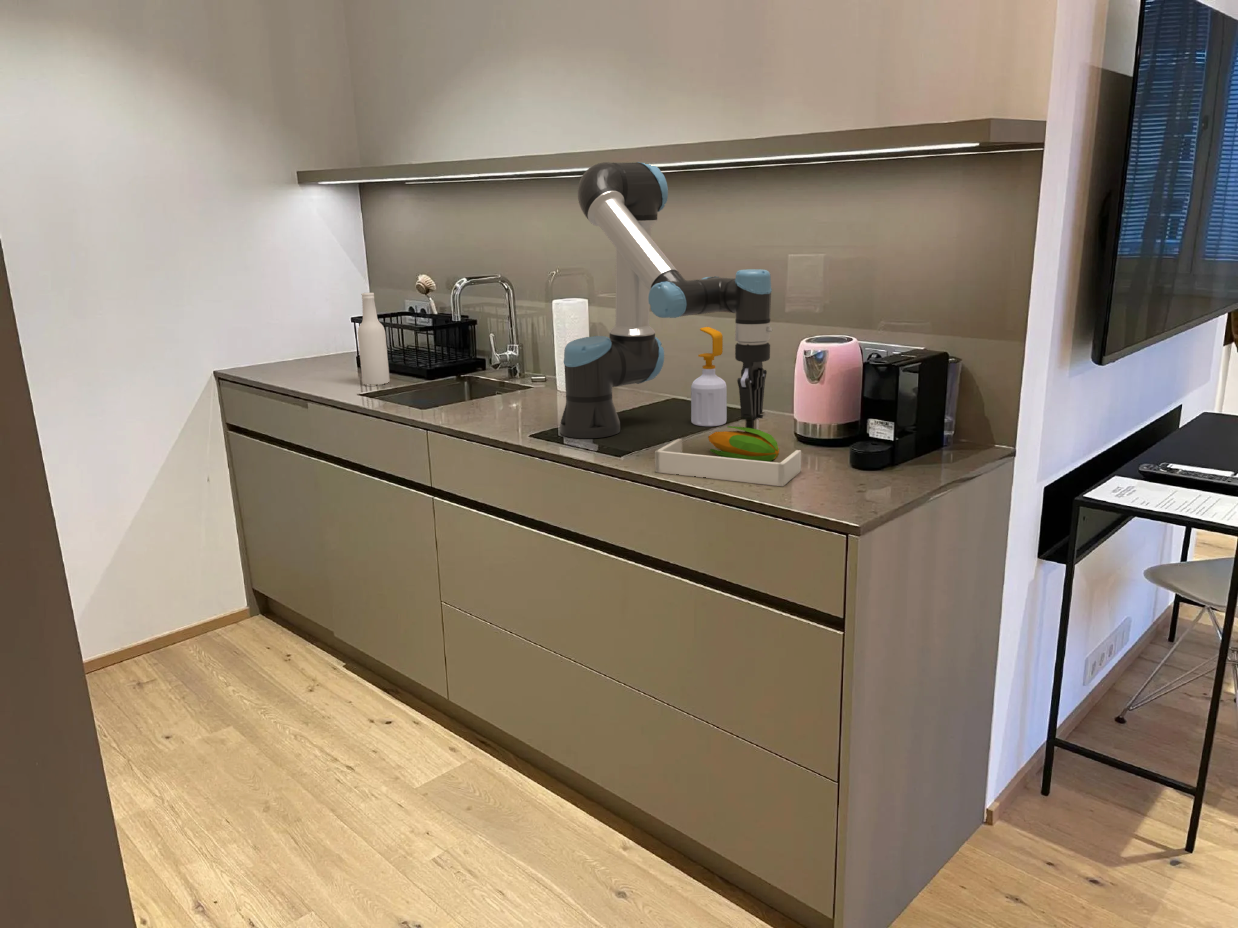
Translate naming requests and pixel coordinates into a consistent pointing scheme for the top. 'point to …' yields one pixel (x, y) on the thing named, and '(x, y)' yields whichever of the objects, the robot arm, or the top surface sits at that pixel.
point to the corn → (745, 444)
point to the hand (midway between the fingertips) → (751, 447)
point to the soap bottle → (709, 388)
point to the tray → (726, 466)
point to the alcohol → (372, 344)
